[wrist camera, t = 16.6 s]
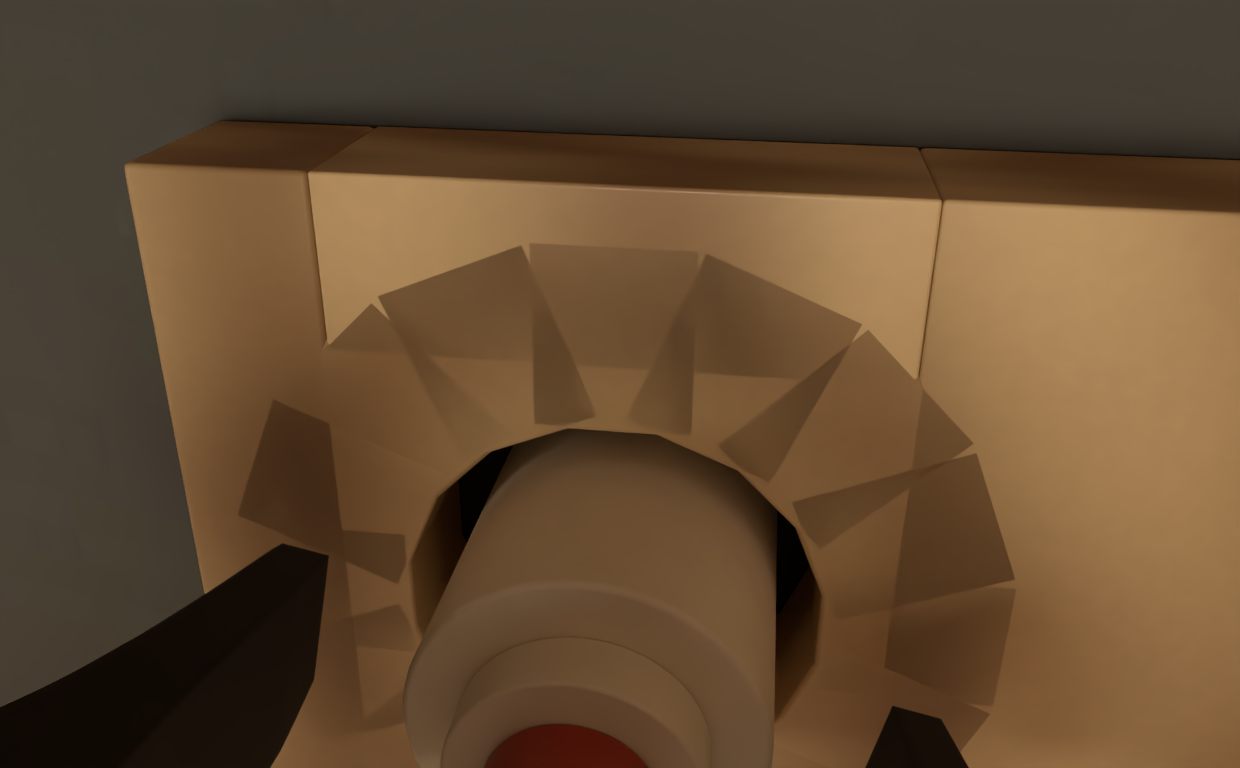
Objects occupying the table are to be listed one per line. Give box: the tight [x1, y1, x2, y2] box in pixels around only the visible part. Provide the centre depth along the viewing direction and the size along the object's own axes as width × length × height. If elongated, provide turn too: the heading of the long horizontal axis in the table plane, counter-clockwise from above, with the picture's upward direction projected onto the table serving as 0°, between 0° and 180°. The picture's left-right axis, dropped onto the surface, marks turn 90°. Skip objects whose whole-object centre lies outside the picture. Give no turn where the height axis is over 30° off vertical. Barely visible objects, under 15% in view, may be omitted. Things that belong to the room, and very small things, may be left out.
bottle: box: [403, 428, 777, 768], centre depth 14 cm, size 4×4×7 cm
